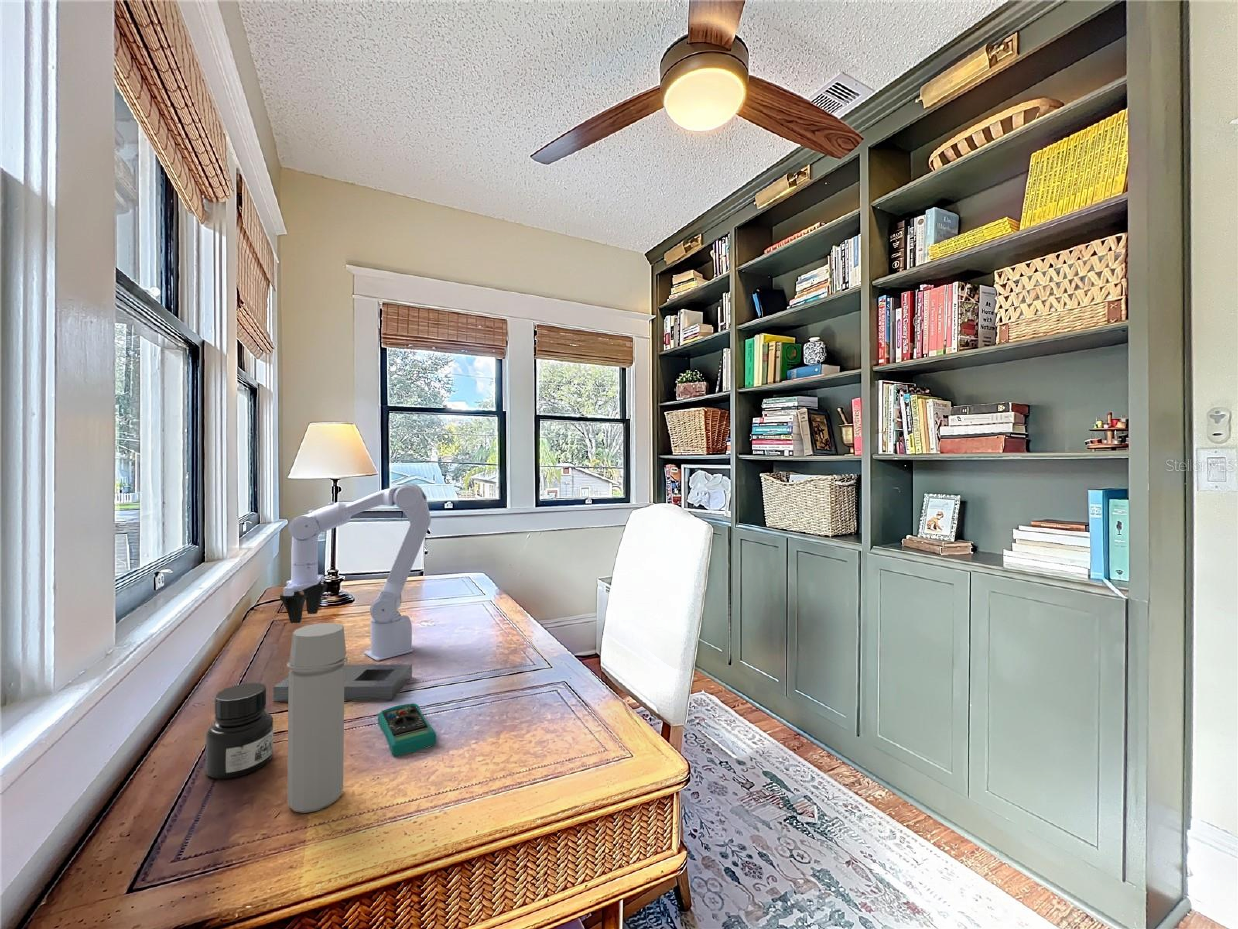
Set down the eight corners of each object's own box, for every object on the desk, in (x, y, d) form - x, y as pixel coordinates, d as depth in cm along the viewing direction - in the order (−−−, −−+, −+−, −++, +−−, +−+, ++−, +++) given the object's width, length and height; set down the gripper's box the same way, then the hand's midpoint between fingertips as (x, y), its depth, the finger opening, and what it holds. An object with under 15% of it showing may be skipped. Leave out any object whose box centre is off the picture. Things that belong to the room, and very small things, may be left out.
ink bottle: (237, 785, 81) (237, 707, 81) (188, 779, 83) (189, 702, 83) (287, 751, 91) (288, 681, 91) (242, 746, 92) (243, 677, 92)
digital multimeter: (416, 714, 106) (416, 699, 106) (437, 748, 93) (437, 731, 93) (376, 724, 102) (376, 708, 102) (392, 760, 89) (392, 743, 89)
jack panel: (412, 677, 122) (412, 664, 122) (391, 700, 110) (392, 686, 110) (305, 677, 121) (305, 664, 121) (273, 701, 109) (273, 686, 109)
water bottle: (332, 815, 75) (334, 637, 74) (273, 818, 74) (275, 638, 74) (359, 777, 84) (360, 618, 84) (307, 778, 83) (308, 618, 83)
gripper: (304, 558, 139) (303, 609, 139) (270, 569, 125) (269, 627, 125) (332, 558, 139) (331, 609, 139) (300, 569, 125) (300, 627, 125)
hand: (304, 618), depth 132 cm, fingers open, 7 cm apart
